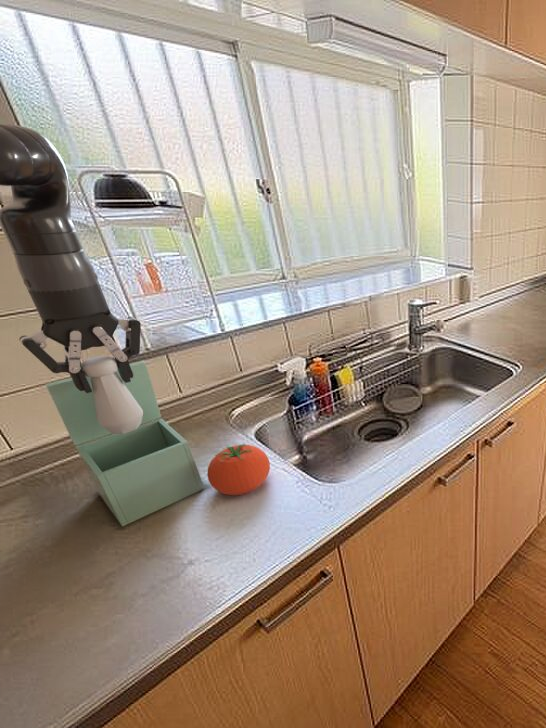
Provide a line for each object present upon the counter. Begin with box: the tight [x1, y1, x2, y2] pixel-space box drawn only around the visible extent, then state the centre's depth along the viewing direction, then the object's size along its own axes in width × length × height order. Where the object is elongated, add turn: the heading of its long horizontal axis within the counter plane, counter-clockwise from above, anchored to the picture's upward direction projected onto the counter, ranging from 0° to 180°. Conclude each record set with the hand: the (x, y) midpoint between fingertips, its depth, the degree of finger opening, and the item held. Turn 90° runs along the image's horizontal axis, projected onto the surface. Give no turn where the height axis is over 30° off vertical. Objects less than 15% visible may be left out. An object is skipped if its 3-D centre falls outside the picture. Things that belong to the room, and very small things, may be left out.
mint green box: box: [75, 418, 205, 527], centre depth 78 cm, size 13×13×12 cm
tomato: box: [206, 443, 271, 496], centre depth 81 cm, size 10×10×10 cm
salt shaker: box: [80, 355, 143, 435], centre depth 70 cm, size 6×6×13 cm
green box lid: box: [44, 360, 162, 447], centre depth 75 cm, size 13×13×5 cm
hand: (107, 385), depth 69 cm, fingers closed on salt shaker, 4 cm apart
